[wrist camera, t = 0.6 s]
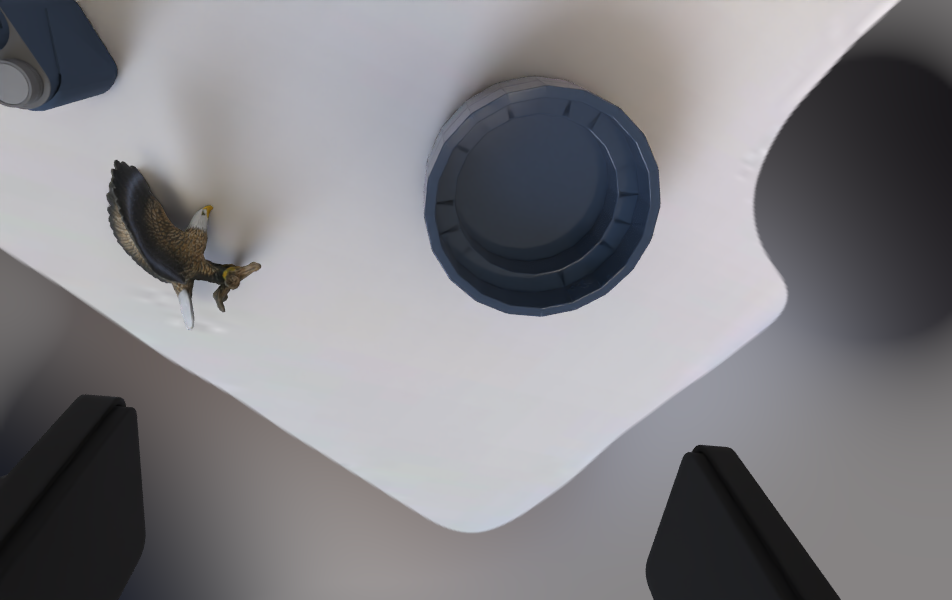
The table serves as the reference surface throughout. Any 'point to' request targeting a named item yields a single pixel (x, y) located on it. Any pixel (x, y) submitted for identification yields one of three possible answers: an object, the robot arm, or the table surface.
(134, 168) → the eagle figurine
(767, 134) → the table surface
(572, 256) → the bowl
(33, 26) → the vaping device
